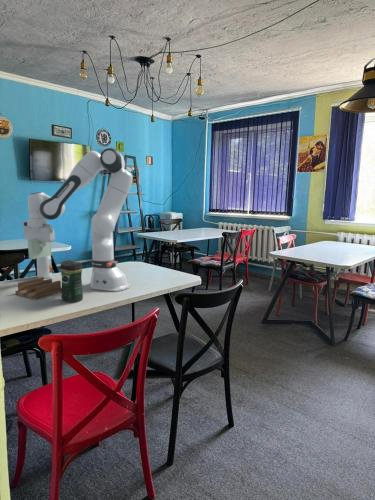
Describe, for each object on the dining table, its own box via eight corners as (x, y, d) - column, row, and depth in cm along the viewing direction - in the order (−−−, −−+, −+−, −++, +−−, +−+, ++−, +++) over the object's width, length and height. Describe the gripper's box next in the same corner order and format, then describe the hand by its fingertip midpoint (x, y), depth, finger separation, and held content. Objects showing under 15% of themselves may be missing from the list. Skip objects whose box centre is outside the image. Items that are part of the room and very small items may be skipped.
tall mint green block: (51, 255, 189) (50, 237, 187) (32, 259, 179) (31, 240, 177) (47, 254, 191) (46, 236, 189) (29, 258, 180) (27, 239, 178)
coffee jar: (86, 299, 163) (85, 261, 159) (72, 304, 156) (71, 263, 153) (72, 295, 168) (71, 258, 164) (58, 299, 161) (57, 260, 158)
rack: (63, 291, 174) (63, 280, 173) (36, 299, 160) (35, 288, 159) (43, 286, 181) (42, 276, 180) (15, 294, 167) (14, 283, 166)
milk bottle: (46, 279, 194) (45, 244, 191) (34, 278, 196) (32, 243, 192) (54, 276, 202) (53, 242, 198) (42, 275, 203) (41, 241, 200)
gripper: (57, 223, 179) (58, 249, 182) (30, 221, 189) (32, 246, 191) (47, 225, 174) (48, 251, 177) (20, 222, 183) (22, 248, 186)
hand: (40, 249), depth 184 cm, fingers closed on tall mint green block, 3 cm apart
